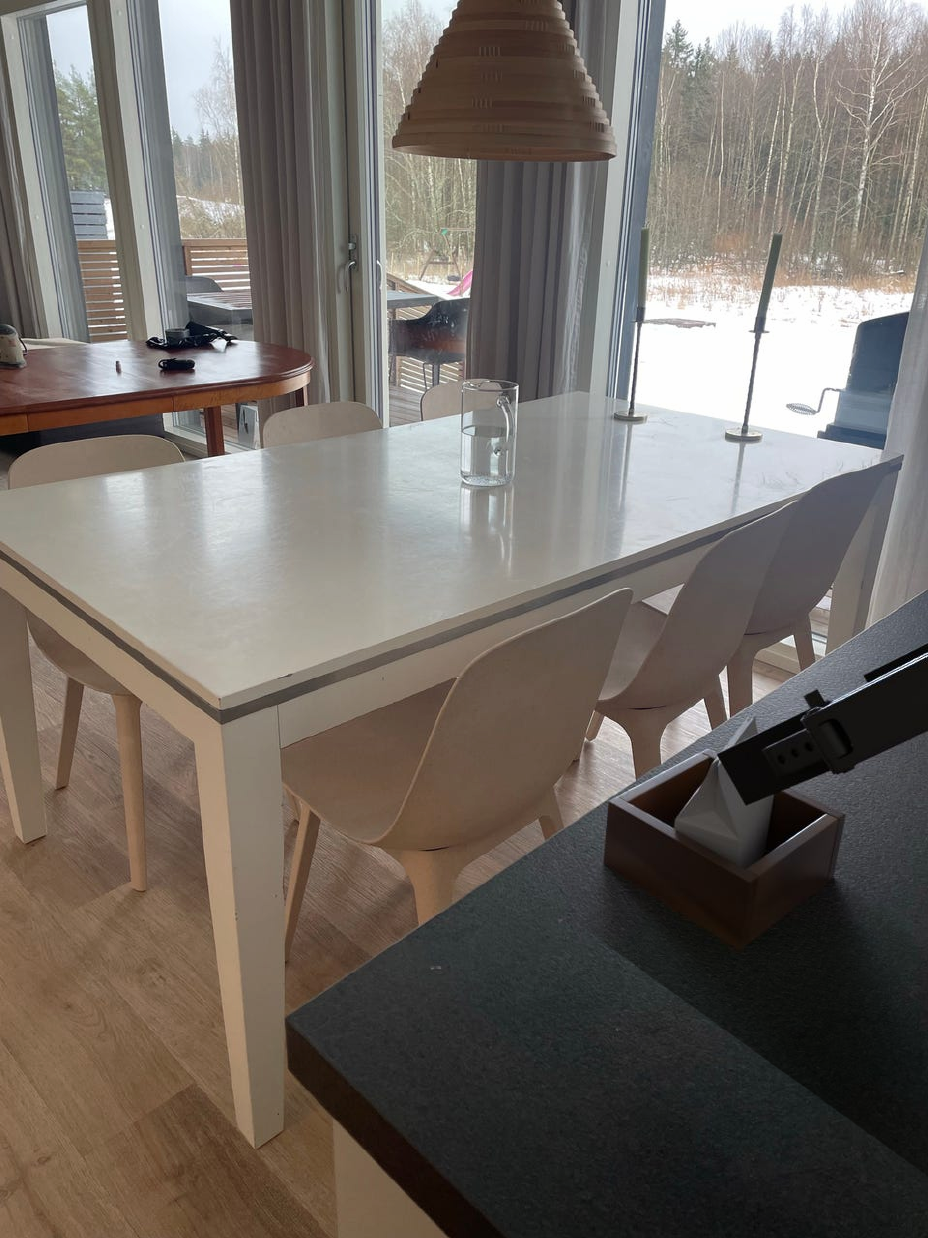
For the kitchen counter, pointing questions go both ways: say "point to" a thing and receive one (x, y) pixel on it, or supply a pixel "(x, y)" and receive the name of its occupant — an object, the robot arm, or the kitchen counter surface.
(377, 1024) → the kitchen counter surface
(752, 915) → the holder
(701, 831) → the white faceted block
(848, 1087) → the kitchen counter surface
